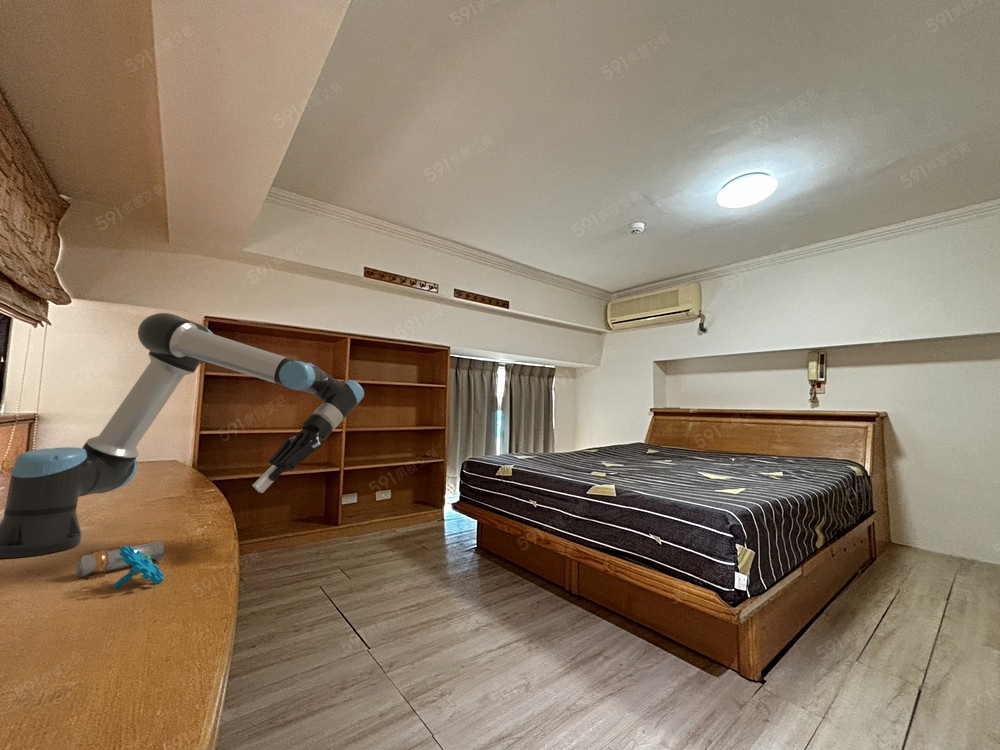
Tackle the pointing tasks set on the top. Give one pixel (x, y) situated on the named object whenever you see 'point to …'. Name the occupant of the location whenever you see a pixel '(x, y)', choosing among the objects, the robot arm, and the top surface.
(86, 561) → the guide pipe
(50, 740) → the top surface
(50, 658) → the top surface
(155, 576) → the gear
